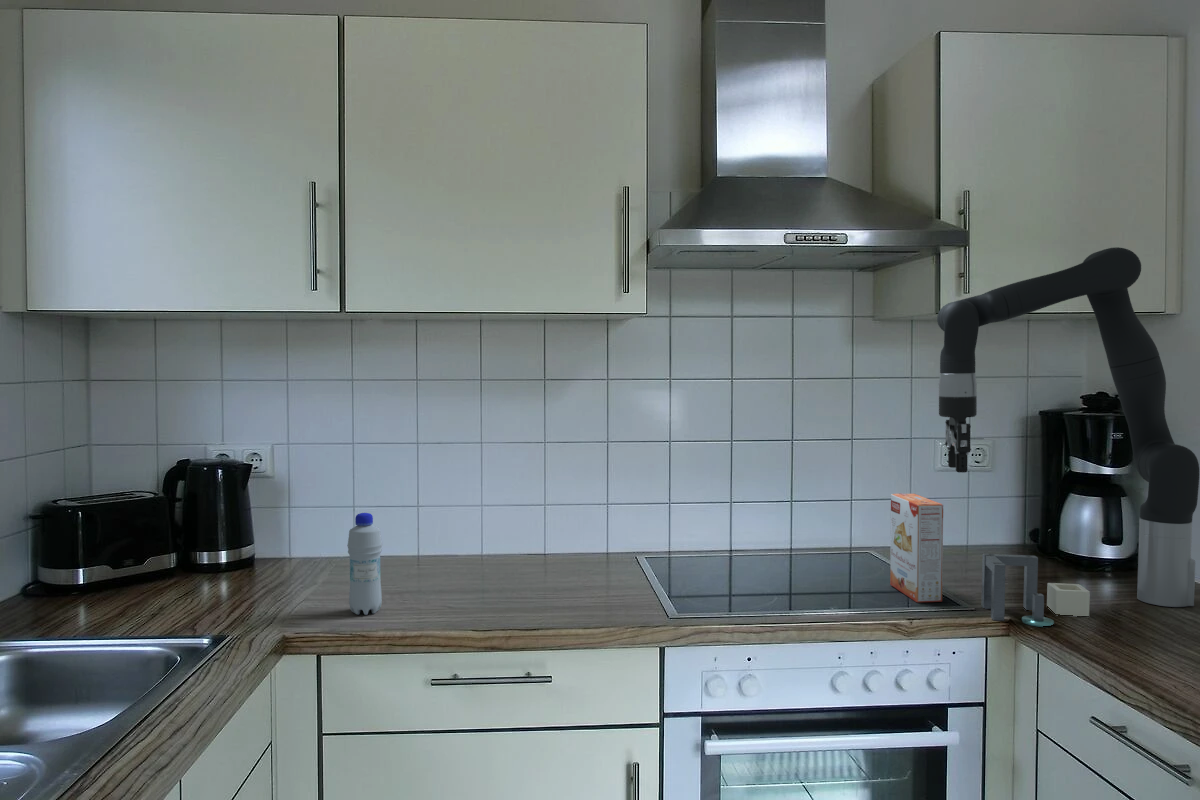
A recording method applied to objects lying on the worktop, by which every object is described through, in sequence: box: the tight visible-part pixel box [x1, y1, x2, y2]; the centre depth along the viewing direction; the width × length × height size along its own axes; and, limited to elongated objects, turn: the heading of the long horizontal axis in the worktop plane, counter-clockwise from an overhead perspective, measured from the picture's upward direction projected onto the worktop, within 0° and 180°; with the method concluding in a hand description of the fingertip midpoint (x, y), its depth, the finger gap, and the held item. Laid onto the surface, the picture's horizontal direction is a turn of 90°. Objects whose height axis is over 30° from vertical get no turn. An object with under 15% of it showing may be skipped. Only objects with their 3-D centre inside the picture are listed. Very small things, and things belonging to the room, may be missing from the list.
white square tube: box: [1046, 582, 1091, 617], centre depth 175 cm, size 6×6×5 cm
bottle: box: [347, 512, 383, 616], centre depth 174 cm, size 7×7×20 cm
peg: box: [1021, 592, 1055, 628], centre depth 168 cm, size 6×6×6 cm
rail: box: [980, 553, 1039, 622], centre depth 173 cm, size 10×10×11 cm
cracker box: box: [889, 493, 944, 604], centre depth 188 cm, size 14×6×21 cm, turn 4°
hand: (957, 469), depth 188 cm, fingers open, 8 cm apart
